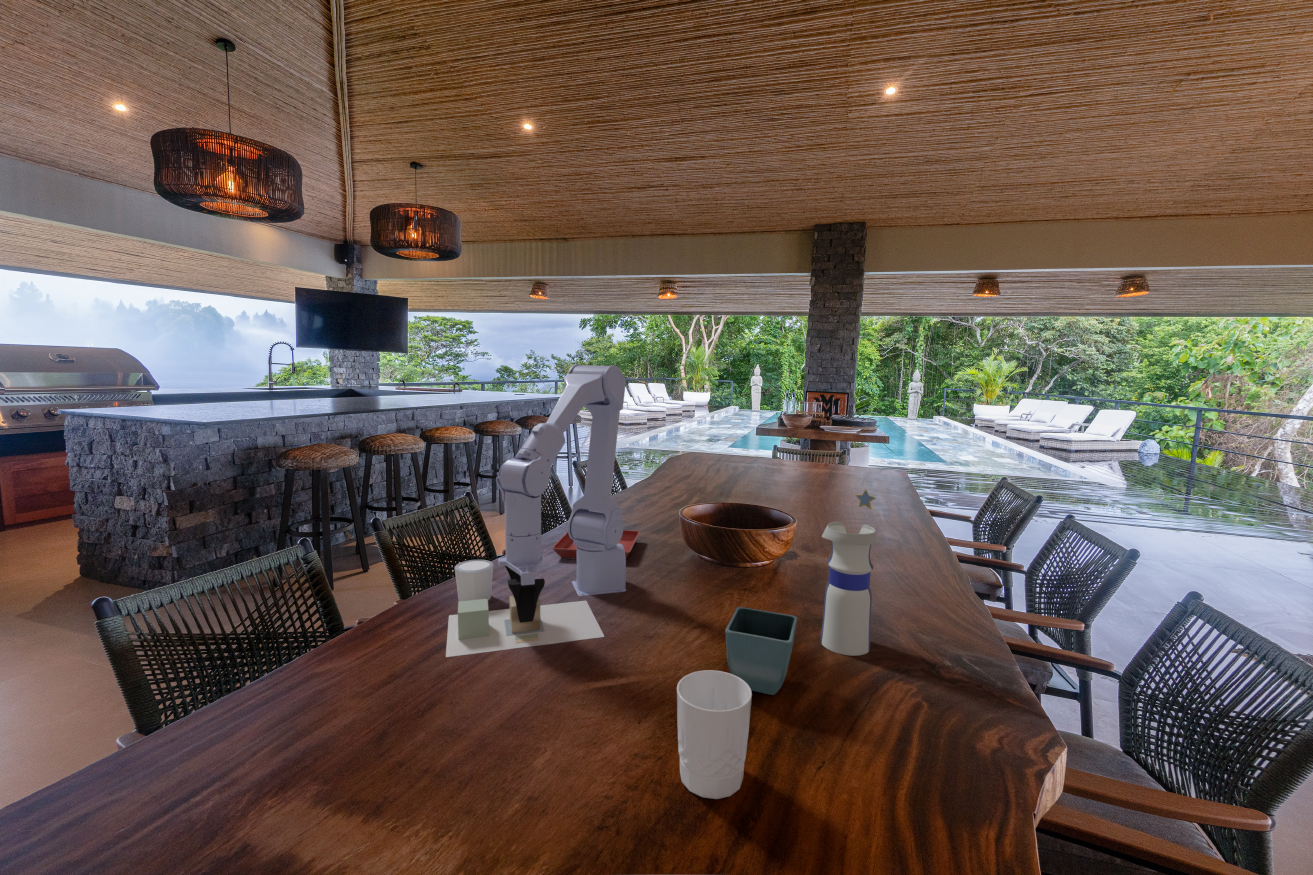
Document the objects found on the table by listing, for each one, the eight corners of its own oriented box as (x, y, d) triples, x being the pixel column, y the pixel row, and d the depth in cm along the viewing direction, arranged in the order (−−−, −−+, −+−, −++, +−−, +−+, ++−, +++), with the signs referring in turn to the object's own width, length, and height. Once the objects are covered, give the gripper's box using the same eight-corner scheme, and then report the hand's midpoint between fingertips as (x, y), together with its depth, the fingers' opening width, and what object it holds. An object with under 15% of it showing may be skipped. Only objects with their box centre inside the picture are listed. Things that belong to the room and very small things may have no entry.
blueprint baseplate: (586, 603, 106) (586, 600, 106) (604, 640, 92) (604, 636, 91) (448, 618, 98) (448, 614, 98) (445, 660, 84) (445, 656, 84)
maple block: (537, 617, 98) (537, 593, 97) (540, 629, 93) (540, 603, 93) (509, 620, 96) (509, 595, 96) (511, 632, 92) (511, 606, 91)
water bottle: (817, 628, 98) (826, 484, 95) (871, 636, 95) (881, 489, 92) (814, 649, 90) (823, 494, 87) (872, 659, 87) (883, 499, 84)
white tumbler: (499, 595, 109) (499, 559, 108) (485, 610, 102) (484, 572, 101) (465, 593, 109) (464, 558, 109) (448, 607, 103) (447, 570, 102)
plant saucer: (571, 538, 147) (571, 526, 147) (640, 542, 145) (640, 529, 145) (551, 562, 129) (551, 547, 129) (629, 566, 127) (629, 552, 127)
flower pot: (794, 674, 82) (798, 614, 81) (788, 707, 74) (791, 642, 73) (735, 662, 85) (737, 605, 84) (722, 693, 77) (724, 630, 76)
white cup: (670, 753, 65) (672, 670, 64) (738, 750, 65) (742, 668, 64) (679, 806, 57) (681, 712, 56) (756, 802, 58) (760, 710, 57)
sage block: (487, 623, 95) (487, 598, 95) (488, 635, 91) (488, 609, 90) (458, 627, 94) (458, 601, 93) (458, 639, 89) (457, 612, 89)
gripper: (495, 521, 99) (497, 597, 100) (500, 547, 85) (501, 633, 86) (537, 519, 101) (537, 592, 102) (548, 543, 87) (548, 627, 89)
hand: (524, 611), depth 95 cm, fingers open, 7 cm apart
